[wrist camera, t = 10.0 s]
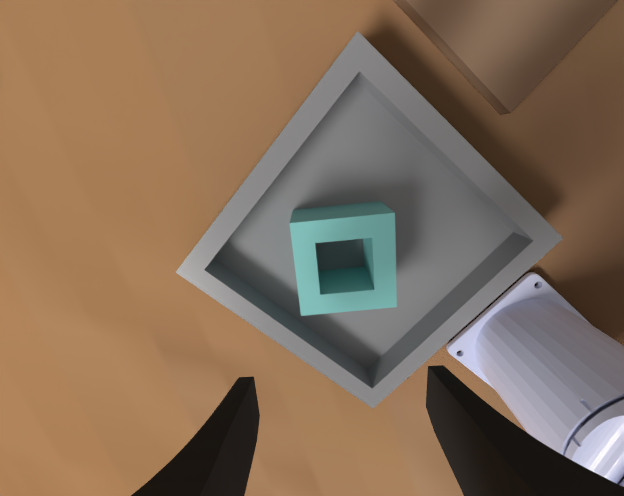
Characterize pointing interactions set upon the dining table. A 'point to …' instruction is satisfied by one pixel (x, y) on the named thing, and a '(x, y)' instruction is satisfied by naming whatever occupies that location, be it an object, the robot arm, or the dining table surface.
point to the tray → (349, 253)
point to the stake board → (505, 39)
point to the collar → (348, 281)
